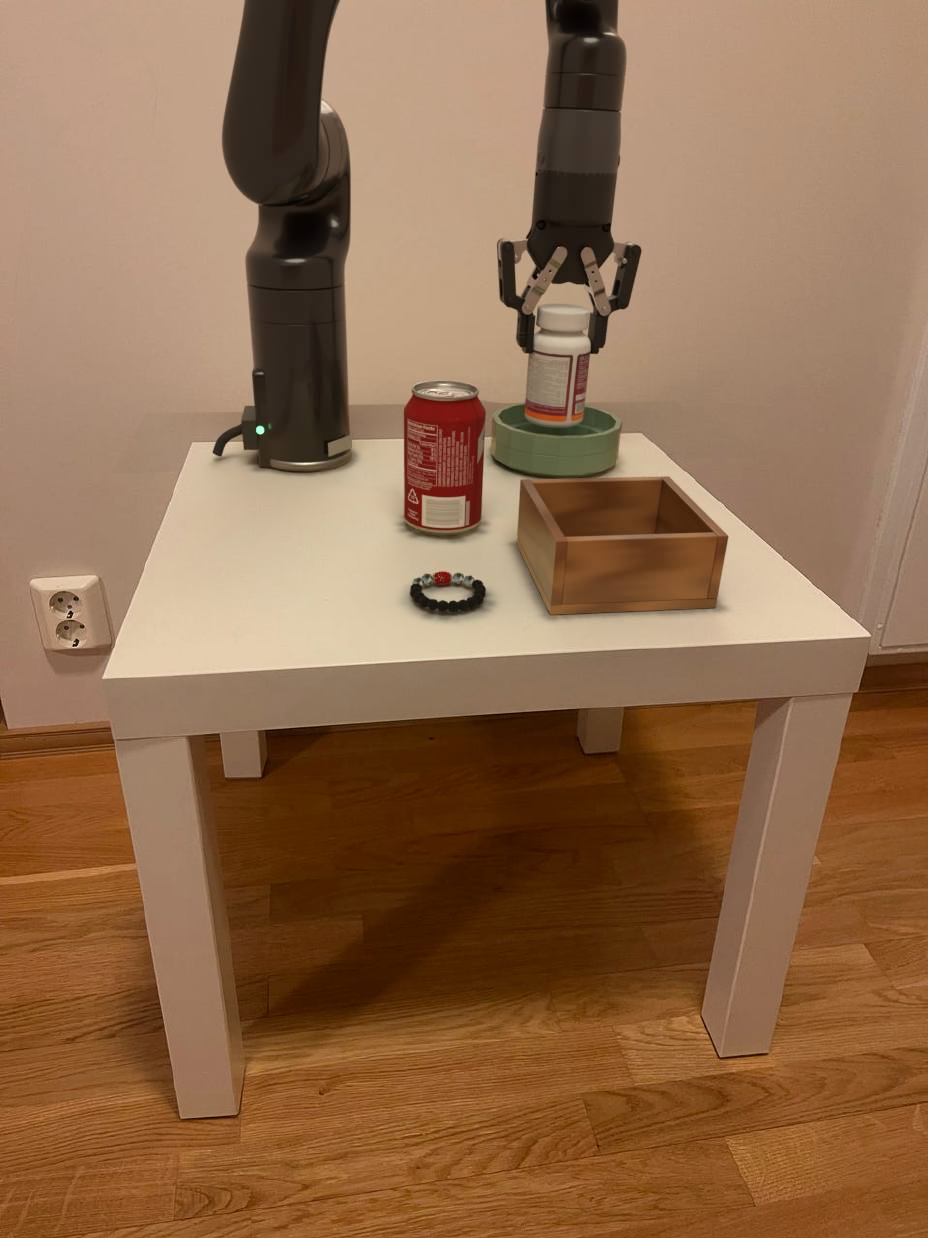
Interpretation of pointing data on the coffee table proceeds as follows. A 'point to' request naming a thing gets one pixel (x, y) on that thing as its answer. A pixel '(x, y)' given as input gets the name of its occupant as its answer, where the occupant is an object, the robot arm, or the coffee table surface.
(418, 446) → the soda can
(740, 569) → the coffee table surface
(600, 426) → the bowl
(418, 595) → the bracelet
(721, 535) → the holder
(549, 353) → the pill bottle
